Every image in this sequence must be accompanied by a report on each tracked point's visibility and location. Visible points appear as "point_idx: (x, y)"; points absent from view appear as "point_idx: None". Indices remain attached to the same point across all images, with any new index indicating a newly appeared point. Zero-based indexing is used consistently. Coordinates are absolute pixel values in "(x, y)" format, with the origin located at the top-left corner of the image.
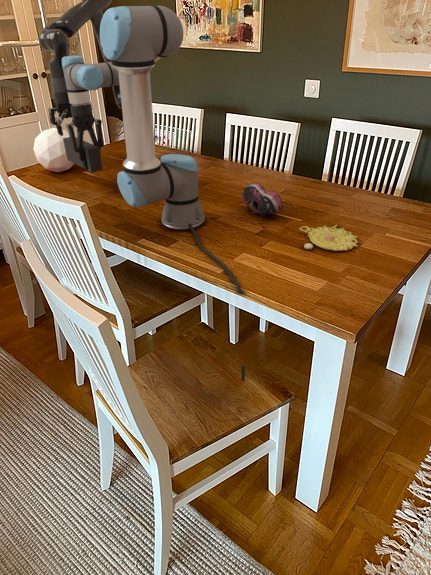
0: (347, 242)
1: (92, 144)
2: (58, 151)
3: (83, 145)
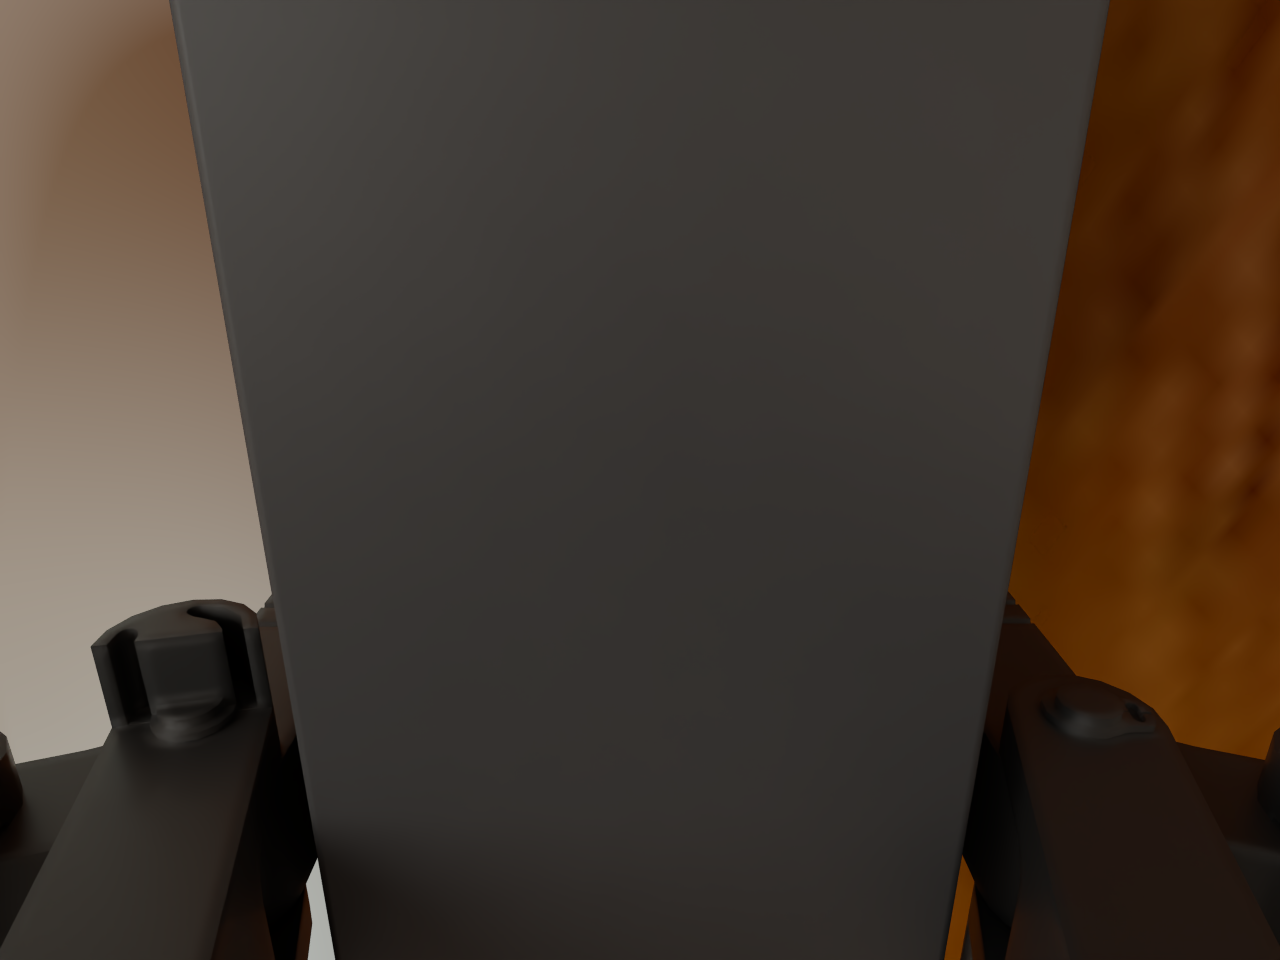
0: None
1: (943, 866)
2: None
3: (485, 735)
